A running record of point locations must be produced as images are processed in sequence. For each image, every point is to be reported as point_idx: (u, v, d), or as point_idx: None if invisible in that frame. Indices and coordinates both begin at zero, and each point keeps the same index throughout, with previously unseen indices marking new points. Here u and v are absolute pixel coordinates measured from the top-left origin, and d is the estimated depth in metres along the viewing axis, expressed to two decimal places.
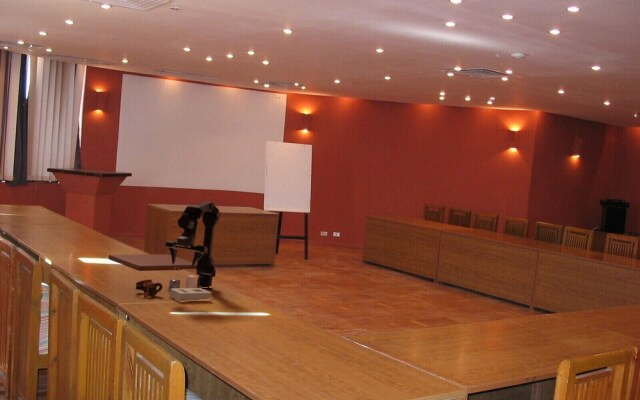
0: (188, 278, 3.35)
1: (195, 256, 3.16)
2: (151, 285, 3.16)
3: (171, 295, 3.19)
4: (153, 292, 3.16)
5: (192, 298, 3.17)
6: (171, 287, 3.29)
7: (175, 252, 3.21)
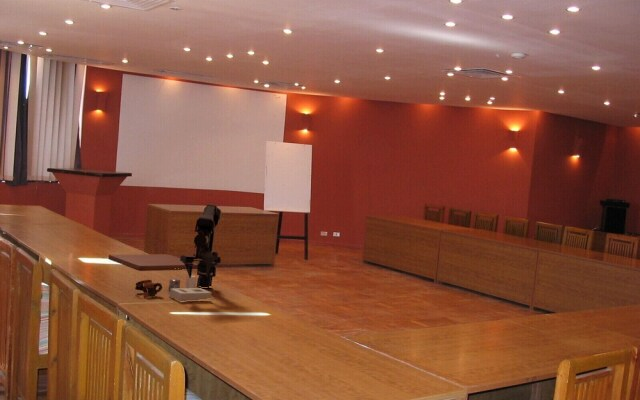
0: (188, 278, 3.35)
1: (211, 267, 3.27)
2: (151, 285, 3.16)
3: (171, 295, 3.19)
4: (153, 292, 3.16)
5: (192, 298, 3.17)
6: (171, 287, 3.29)
7: None
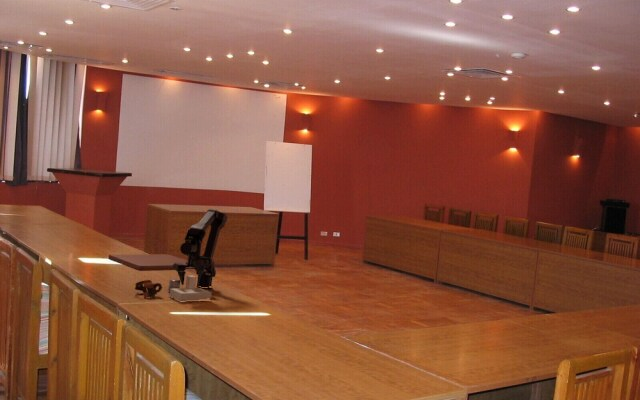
0: (188, 278, 3.35)
1: (203, 275, 3.38)
2: (151, 285, 3.15)
3: (171, 295, 3.19)
4: (153, 292, 3.15)
5: (192, 298, 3.17)
6: (171, 287, 3.29)
7: None
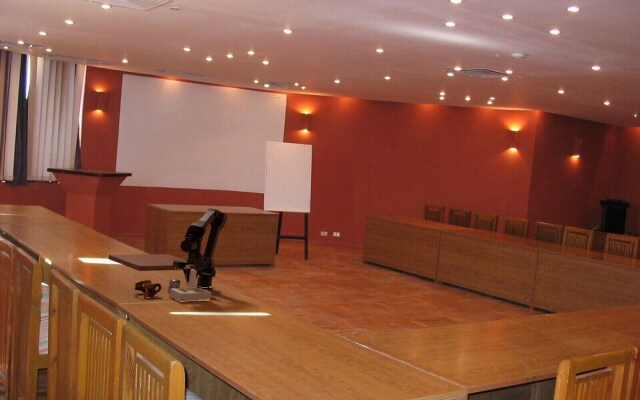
0: None
1: (198, 272, 3.36)
2: (150, 286, 3.15)
3: (171, 295, 3.19)
4: (152, 293, 3.15)
5: (192, 298, 3.17)
6: (171, 287, 3.29)
7: None
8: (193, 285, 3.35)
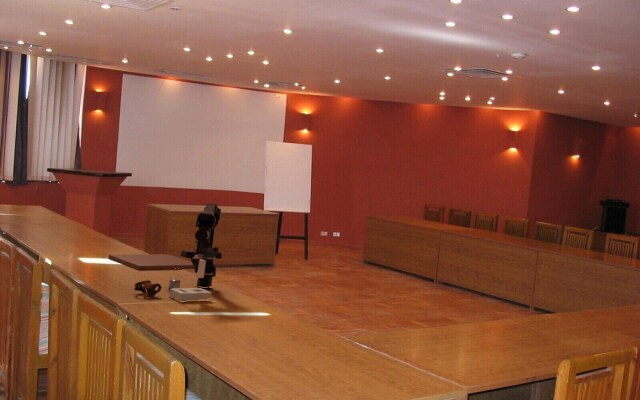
0: None
1: (207, 263, 3.24)
2: (150, 286, 3.14)
3: (171, 295, 3.19)
4: (152, 293, 3.14)
5: (192, 298, 3.17)
6: (171, 287, 3.29)
7: None
8: (202, 276, 3.23)
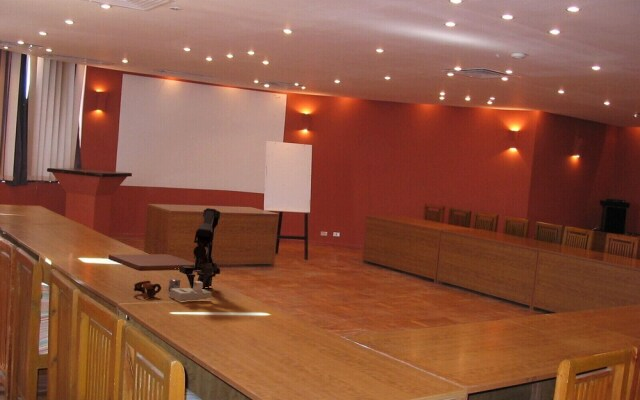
0: (195, 284, 3.22)
1: (208, 278, 3.25)
2: (150, 286, 3.14)
3: (171, 295, 3.19)
4: (152, 293, 3.14)
5: (192, 298, 3.17)
6: (171, 287, 3.29)
7: None
8: None
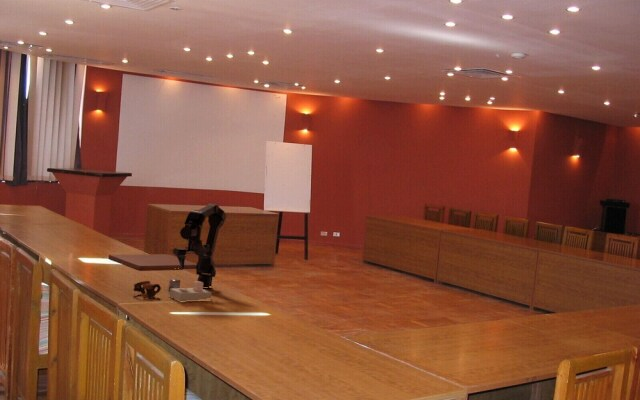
0: (195, 284, 3.22)
1: (203, 259, 3.36)
2: (150, 286, 3.13)
3: (171, 295, 3.19)
4: (152, 293, 3.13)
5: (192, 298, 3.17)
6: (171, 287, 3.29)
7: None
8: None
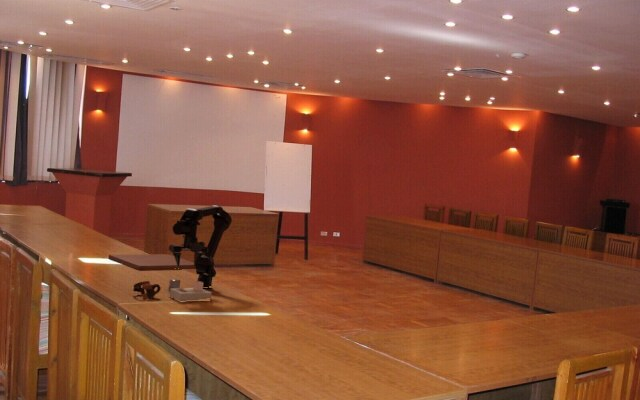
0: (195, 284, 3.23)
1: (199, 256, 3.40)
2: (149, 287, 3.12)
3: (171, 295, 3.19)
4: (151, 294, 3.13)
5: (192, 298, 3.17)
6: (171, 287, 3.29)
7: None
8: None
